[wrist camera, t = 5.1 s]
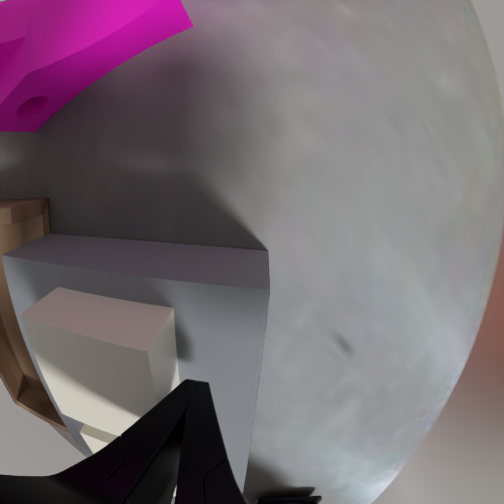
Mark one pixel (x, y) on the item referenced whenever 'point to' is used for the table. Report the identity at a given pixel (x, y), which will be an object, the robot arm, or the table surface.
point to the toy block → (71, 49)
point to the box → (4, 318)
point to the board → (168, 295)
